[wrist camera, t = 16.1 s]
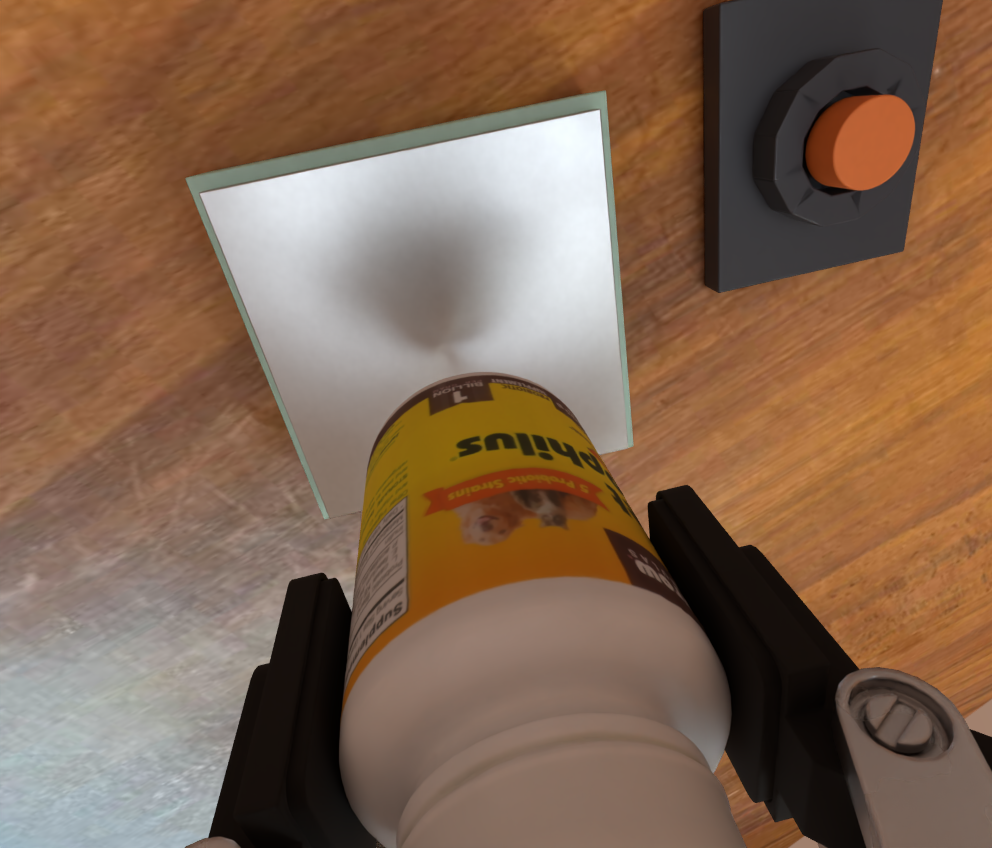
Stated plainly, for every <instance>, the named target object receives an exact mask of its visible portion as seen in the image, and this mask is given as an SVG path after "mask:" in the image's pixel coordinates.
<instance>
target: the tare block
mask: <svg viewBox="0 0 992 848" xmlns="http://www.w3.org/2000/svg"><path fill="white" fill-rule="evenodd" d="M942 2H943V0H732V1H727V2H722V3H719V4H716V5H713V6H711V7H708V8H706V9H704V11H703V38H704V187H705V285H706V286H707V287H709V288H710V289H712V290H714V291H716V292H718V293H721V292H725V291H730V290H734V289H739V288H743V287H748V286H752V285H756V284H761V283H765V282H770V281H774V280H779V279H783V278H787V277H792V276H796V275H801V274H805V273H810V272H814V271H818V270H823V269H827V268H832V267H836V266H840V265H845V264H849V263H854V262H858V261H863V260H867V259H871V258H876V257H880V256H885V255H889V254H894V253H898V252H902V251H903V250H904V246H905V239H906V233H907V227H908V220H909V214H910V207H911V201H912V195H913V188H914V182H915V175H916V169H917V163H918V156H919V150H920V143H921V137H922V131H923V124H924V118H925V111H926V105H927V99H928V92H929V86H930V79H931V73H932V66H933V60H934V54H935V47H936V41H937V34H938V28H939V22H940V15H941V9H942ZM868 95H894V96H897V97H899V98H901V99H902V100H904V101H905V102H906V103H907V104H908V106H909V107H910V109H911V111H912V113H913V116H914V121H915V135H914V140H913V144H912V147H911V150H910V152H909V154H908V156H907V158H906V160H905V161H904V163H903V165H902V166H901V167H900V168H899V170H898V171H897V172H896V173H895V174H894V175H893V176H892V177H891V178H890V179H888V180H887V181H886V182H884V183H882V184H881V185H879V186H877V187H874V188H872V189H868V190H851V189H845V188H838V187H831V186H826V185H823V184H821V183H819V182H817V181H816V180H815V179H814V178H813V177H812V175H811V174H810V172H809V170H808V167H807V164H806V157H805V151H806V144H807V140H808V137H809V134H810V132H811V129H812V127H813V126H814V124H815V122H816V121H817V119H818V118H819V117H820V115H821V114H822V113H823V112H824V111H825V110H826V109H827V108H829V107H830V106H831V105H832V104H834V103H836V102H837V101H839V100H841V99H844V98H847V97H853V96H868Z"/></svg>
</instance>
